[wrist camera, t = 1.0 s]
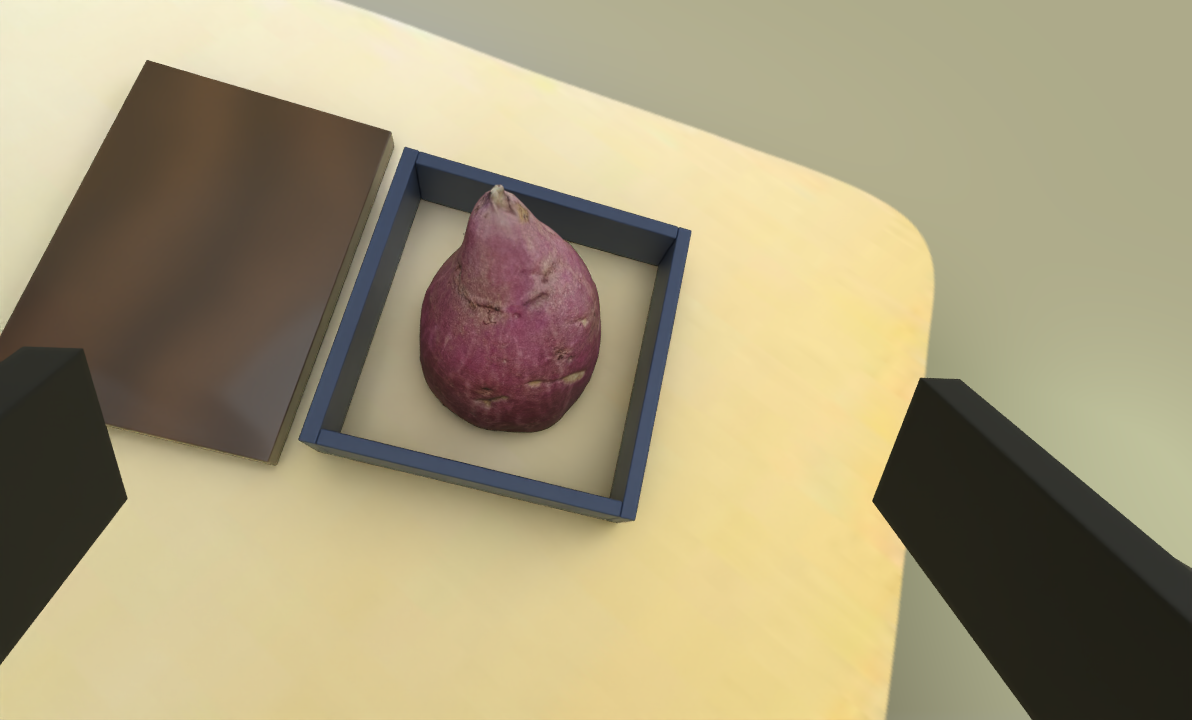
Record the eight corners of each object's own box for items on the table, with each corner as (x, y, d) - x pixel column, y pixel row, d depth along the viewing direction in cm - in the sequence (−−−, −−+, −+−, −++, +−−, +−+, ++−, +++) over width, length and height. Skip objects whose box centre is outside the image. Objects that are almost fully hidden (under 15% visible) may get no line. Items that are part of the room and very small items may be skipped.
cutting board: (-9, 399, 32) (-31, 392, 31) (158, 77, 38) (146, 59, 37) (276, 465, 34) (267, 462, 32) (394, 145, 40) (391, 131, 38)
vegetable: (412, 318, 40) (305, 136, 27) (568, 264, 42) (541, 65, 28) (458, 470, 36) (357, 344, 23) (631, 405, 37) (635, 248, 24)
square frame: (317, 451, 34) (297, 440, 31) (411, 184, 39) (404, 146, 36) (618, 523, 36) (635, 521, 32) (672, 258, 41) (692, 230, 37)
